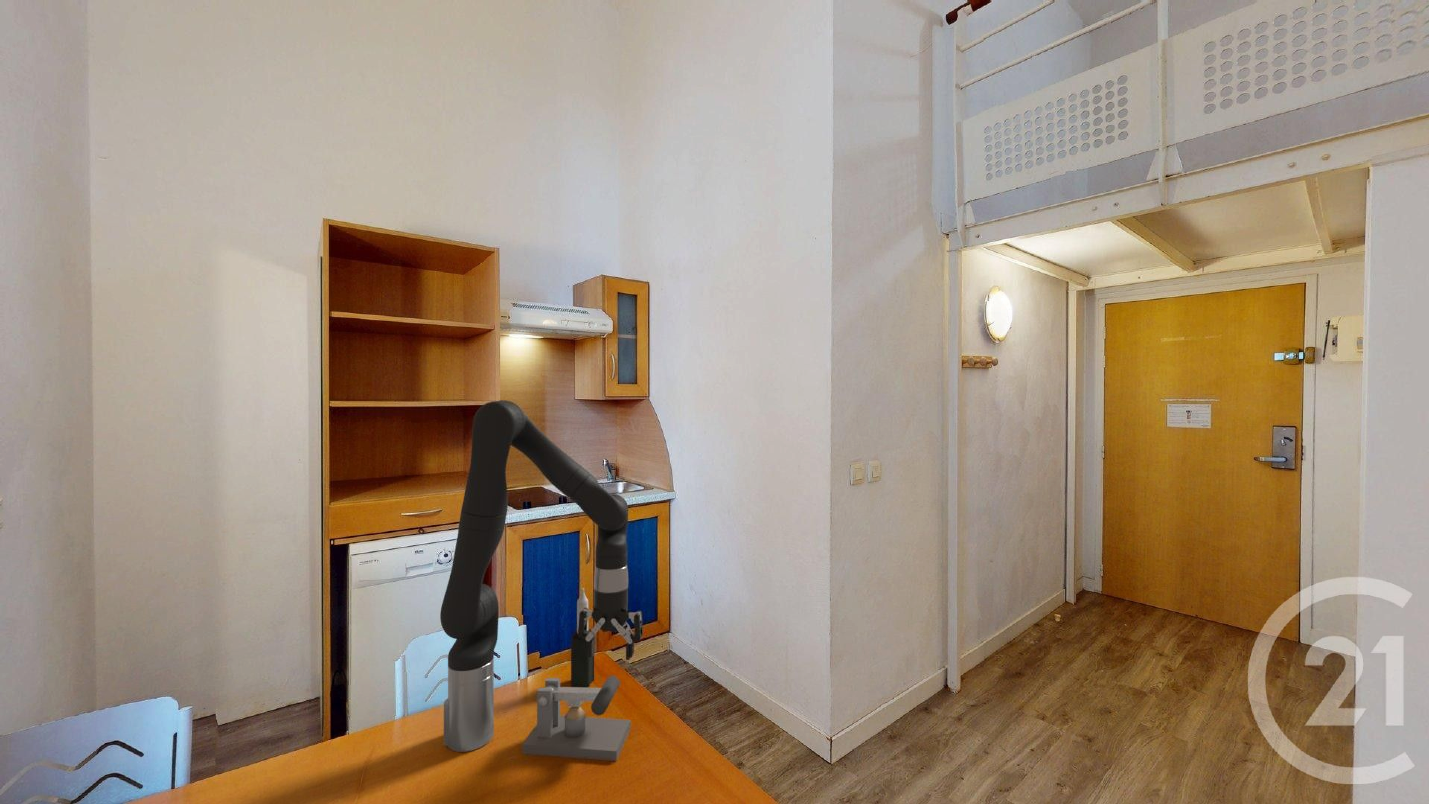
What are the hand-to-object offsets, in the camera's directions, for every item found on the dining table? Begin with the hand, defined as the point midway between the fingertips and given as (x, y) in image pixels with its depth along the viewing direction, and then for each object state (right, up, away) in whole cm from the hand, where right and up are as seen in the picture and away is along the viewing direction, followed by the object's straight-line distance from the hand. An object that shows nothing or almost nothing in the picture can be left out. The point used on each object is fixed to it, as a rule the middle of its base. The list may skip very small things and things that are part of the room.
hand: (610, 657), depth 121 cm
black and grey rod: (-12, -17, +22) cm, 30 cm away
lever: (-7, -9, -3) cm, 11 cm away
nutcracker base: (-6, -17, -3) cm, 19 cm away
